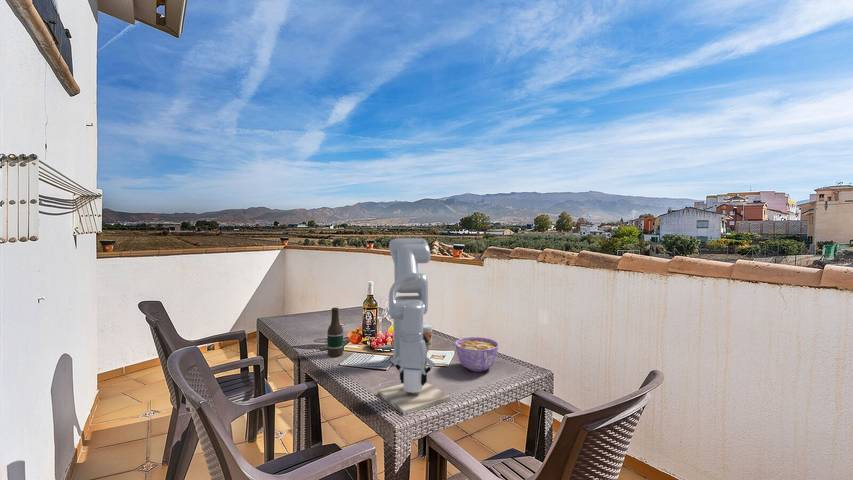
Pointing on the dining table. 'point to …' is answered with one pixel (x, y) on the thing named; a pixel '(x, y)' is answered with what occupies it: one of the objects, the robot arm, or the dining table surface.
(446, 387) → the dining table surface
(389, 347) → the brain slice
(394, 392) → the beige flat square plate
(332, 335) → the beer bottle
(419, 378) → the elbow
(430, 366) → the robot arm
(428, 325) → the coffee cup
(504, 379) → the dining table surface
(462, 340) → the bowl of food
